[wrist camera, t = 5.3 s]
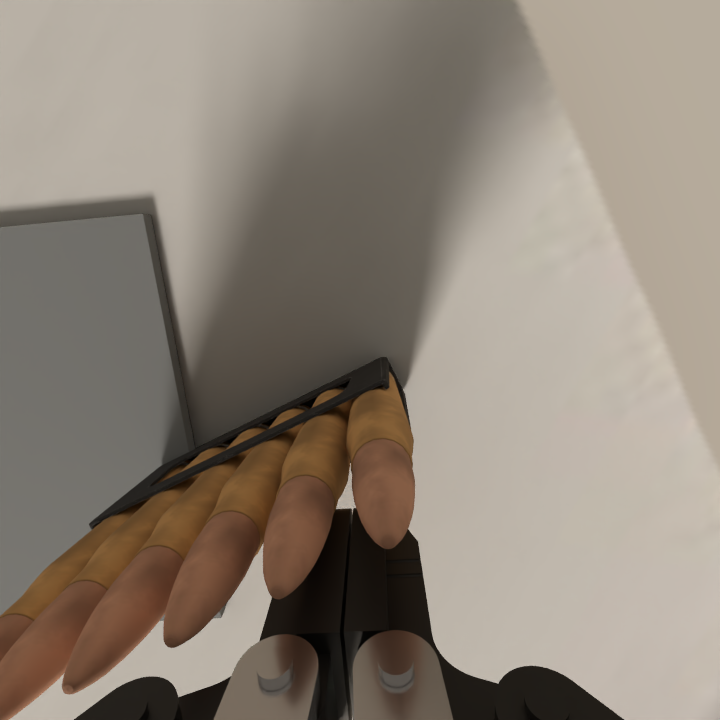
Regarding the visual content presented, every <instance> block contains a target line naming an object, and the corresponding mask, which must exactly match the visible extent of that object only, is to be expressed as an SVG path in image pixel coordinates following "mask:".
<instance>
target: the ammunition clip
mask: <svg viewBox="0 0 720 720" xmlns="http://www.w3.org/2000/svg"><path fill="white" fill-rule="evenodd" d="M413 442H414V440H413V435H412V432H411V427H410V421H409V415H408V409H407V403H406V398H405V393H404V391H403V389H402V387H401V385H400V383H399V381H398V379H397V377H396V375H395V373H394V371H393V369H392V367H391V365H390V363H389V361H388V359H387V358H386V357H381V358H379V359H377V360H375V361H373V362H371V363H369V364H367V365H365V366H363V367H361V368H359V369H357V370H354V371H352V372H350V373H348V374H346V375H344V376H342V377H340V378H338V379H336V380H334V381H332V382H330V383H328V384H326V385H324V386H322V387H320V388H318V389H316V390H314V391H312V392H310V393H308V394H306V395H304V396H302V397H300V398H298V399H296V400H294V401H291V402H289V403H287V404H285V405H283V406H281V407H279V408H277V409H275V410H273V411H271V412H269V413H267V414H265V415H263V416H261V417H259V418H257V419H255V420H253V421H251V422H249V423H247V424H245V425H243V426H241V427H239V428H237V429H235V430H233V431H231V432H229V433H226V434H224V435H222V436H220V437H218V438H216V439H214V440H212V441H210V442H208V443H206V444H204V445H202V446H200V447H198V448H196V449H194V450H192V451H190V452H188V453H186V454H184V455H182V456H180V457H178V458H176V459H174V460H172V461H170V462H168V463H166V464H163V465H161V466H160V467H159V468H157V469H156V470H155V471H154V472H152V473H151V474H150V475H149V476H147V477H146V478H145V479H144V480H142V481H141V482H140V483H139V484H137V485H136V486H135V487H134V488H132V489H131V490H130V491H129V492H127V493H126V494H125V495H124V496H122V497H121V498H120V499H119V500H117V501H116V502H115V503H114V504H112V505H111V506H110V507H109V508H107V509H106V510H105V511H104V512H102V513H101V514H100V515H99V516H97V517H96V518H95V519H94V520H92V521H91V522H90V523H89V526H90V528H91V531H90V532H89V533H88V534H86V535H85V536H84V537H83V538H82V539H80V540H79V541H78V542H77V543H75V544H74V545H73V546H72V547H71V548H69V549H68V550H67V551H66V552H65V553H63V554H62V555H61V556H60V557H59V558H57V559H56V560H55V561H54V562H52V563H51V564H50V565H49V566H48V567H47V568H46V569H45V570H44V571H43V572H42V573H41V574H40V575H39V576H38V577H37V578H36V580H35V581H34V582H33V583H32V584H31V585H30V587H29V588H28V589H27V590H26V592H25V593H24V594H23V595H22V596H21V597H20V598H19V599H18V600H17V601H16V602H15V603H14V604H13V605H12V606H11V607H9V608H8V609H7V610H6V611H5V612H4V613H3V614H2V615H1V616H0V720H9V719H10V718H12V717H13V716H14V715H16V714H17V713H18V712H20V711H21V710H22V709H23V708H25V707H26V706H27V705H29V704H30V703H31V702H32V701H34V700H35V699H36V698H37V697H39V696H40V695H41V694H42V693H43V692H44V691H46V690H47V689H48V688H49V687H50V686H51V685H52V684H53V683H55V682H56V681H57V680H58V679H59V678H60V677H61V676H62V675H63V674H64V673H65V674H64V678H63V683H62V689H63V692H64V693H66V694H74V693H76V692H78V691H80V690H82V689H84V688H86V687H87V686H89V685H91V684H93V683H94V682H96V681H97V680H98V679H100V678H101V677H103V676H104V675H106V674H107V673H108V672H109V671H110V670H111V669H112V668H114V667H115V666H116V665H117V664H118V663H119V662H121V661H122V660H123V659H124V658H125V657H126V656H127V655H128V654H129V653H130V652H131V651H132V650H133V649H134V648H135V647H136V646H137V645H138V644H139V643H140V642H141V641H142V640H143V639H144V638H145V637H146V636H147V635H148V633H149V632H150V631H151V630H152V629H153V628H154V626H155V625H156V624H157V623H158V622H159V621H160V619H161V618H162V617H163V616H164V615H165V618H164V635H163V636H164V642H165V644H166V645H167V646H168V647H171V648H174V647H177V646H179V645H181V644H183V643H185V642H186V641H188V640H189V639H191V638H192V637H194V636H195V635H196V634H197V633H199V632H200V631H201V630H202V629H203V628H204V627H205V626H206V625H207V624H208V623H209V622H210V621H211V620H212V618H213V617H214V616H215V615H216V614H217V613H218V612H219V611H220V610H221V609H222V608H223V606H224V605H225V604H226V603H227V602H228V600H229V599H230V598H231V596H232V595H233V594H234V592H235V590H236V589H237V587H238V586H239V584H240V583H241V581H242V580H243V578H244V577H245V575H246V573H247V571H248V569H249V567H250V565H251V563H252V561H253V558H254V557H255V556H256V555H257V554H258V552H259V550H260V548H261V546H262V544H263V542H264V547H263V573H264V579H265V582H266V585H267V588H268V591H269V593H270V595H271V596H272V597H273V598H274V599H282V598H284V597H286V596H288V595H289V594H290V593H292V592H293V591H294V590H295V589H296V588H297V587H298V586H299V585H300V584H301V583H302V582H303V581H304V579H305V578H306V577H307V575H308V574H309V572H310V571H311V570H312V568H313V566H314V565H315V563H316V561H317V559H318V557H319V555H320V553H321V551H322V549H323V546H324V544H325V541H326V539H327V536H328V533H329V531H330V527H331V523H332V518H333V514H334V512H335V510H336V506H337V502H338V499H339V498H340V496H341V495H342V493H343V491H344V489H345V486H346V484H347V481H348V475H349V468H350V463H351V471H352V491H353V496H354V502H355V505H356V508H357V511H358V514H359V517H360V520H361V522H362V524H363V526H364V528H365V530H366V532H367V533H368V534H369V536H370V537H371V538H372V539H373V540H374V542H375V543H377V544H378V545H379V546H381V547H382V548H385V549H391V548H394V547H395V546H396V545H397V544H398V543H399V542H400V541H401V540H402V539H403V537H404V536H405V534H406V532H407V529H408V527H409V524H410V521H411V518H412V514H413V509H414V499H415V479H414V474H413V470H412V466H413V463H412V453H413Z"/></svg>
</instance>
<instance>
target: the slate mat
mask: <svg viewBox="0 0 720 720" xmlns="http://www.w3.org/2000/svg"><path fill="white" fill-rule="evenodd" d="M194 449H195V445H194V439H193V434H192V429H191V424H190V418H189V413H188V408H187V402H186V397H185V392H184V387H183V381H182V376H181V371H180V366H179V360H178V355H177V350H176V345H175V339H174V334H173V329H172V324H171V318H170V313H169V308H168V302H167V297H166V292H165V287H164V281H163V276H162V271H161V266H160V260H159V255H158V250H157V245H156V239H155V234H154V229H153V224H152V218H151V215H149V214H133V215H122V216H112V217H101V218H91V219H80V220H70V221H59V222H48V223H38V224H27V225H17V226H6V227H0V616H1V615H2V614H3V613H4V612H5V611H6V610H7V609H8V608H9V607H11V606H12V605H13V604H14V603H15V602H16V601H17V600H18V599H19V598H20V597H21V596H22V595H23V594H24V593H25V592H26V590H27V589H28V588H29V587H30V585H31V584H32V583H33V582H34V581H35V580H36V578H37V577H38V576H39V575H40V574H41V573H42V572H43V571H44V570H45V569H46V568H47V567H48V566H49V565H50V564H51V563H52V562H54V561H55V560H56V559H57V558H59V557H60V556H61V555H62V554H63V553H65V552H66V551H67V550H68V549H69V548H71V547H72V546H73V545H74V544H75V543H77V542H78V541H79V540H80V539H82V538H83V537H84V536H85V535H86V534H88V533H89V532H90V531H91V528H90V526H89V523H90V522H91V521H92V520H94V519H95V518H96V517H97V516H99V515H100V514H101V513H102V512H104V511H105V510H106V509H107V508H109V507H110V506H111V505H112V504H114V503H115V502H116V501H117V500H119V499H120V498H121V497H122V496H124V495H125V494H126V493H127V492H129V491H130V490H131V489H132V488H134V487H135V486H136V485H137V484H139V483H140V482H141V481H142V480H144V479H145V478H146V477H147V476H149V475H150V474H151V473H152V472H154V471H155V470H156V469H157V468H159V467H160V466H161V465H163V464H166V463H168V462H170V461H172V460H174V459H176V458H178V457H180V456H182V455H184V454H186V453H188V452H190V451H192V450H194ZM224 610H225V605H224V606H223V608H222V609H221V610H220V611H219V612H218V613H217V614H216V615H215V616H214V617H213V618H221V617H222V615H223V613H224ZM164 618H165V615H164V616H163V617H162V618H161V619H160V621H164Z"/></svg>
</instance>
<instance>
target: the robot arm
mask: <svg viewBox="0 0 720 720" xmlns="http://www.w3.org/2000/svg"><path fill="white" fill-rule="evenodd" d="M352 717H353V720H624V719H622V718H621V717H620V716H618V715H617V714H616V713H614V712H613V711H612V710H610V709H609V708H608V707H606V706H605V705H604V704H602V703H601V702H600V701H598V700H597V699H596V698H594V697H593V696H592V695H590V694H589V693H588V692H586V691H585V690H584V689H582V688H581V687H580V686H578V685H577V684H576V683H574V682H573V681H572V680H570V679H569V678H567V677H566V676H564V675H562V674H560V673H558V672H556V671H553V670H551V669H548V668H543V667H539V666H524V667H519V668H516V669H514V670H512V671H510V672H508V673H507V674H506V675H505V676H504V677H503V678H502V679H501V680H500V682H499V684H497V683H493V682H490V681H486V680H483V679H480V678H476V677H473V676H470V675H467V674H465V673H463V672H461V671H459V670H458V669H456V668H455V667H453V666H452V665H451V664H450V663H449V662H447V661H446V660H445V659H444V657H443V656H442V655H441V654H440V652H439V651H438V649H437V648H436V645H435V643H434V641H433V637H432V631H431V625H430V618H429V612H428V605H427V599H426V592H425V585H424V579H423V572H422V566H421V560H420V553H419V546H418V541H417V540H416V539H415V537H414V536H413V535H412V534H411V532H410V531H409V530H408V529H407V532H406V534H405V536H404V537H403V539H402V540H401V541H400V542H399V543H398V544H397V545H396V546H395V547H394V548H391V549H385V548H382V547H381V546H379V545H378V544H377V543H375V542H374V540H373V539H372V538H371V537H370V536H369V534H368V533H367V532H366V530H365V528H364V526H363V524H362V522H361V520H360V517H359V514H358V511H357V508H354V509H353V514H352V509H336V510H335V512H334V514H333V518H332V523H331V527H330V531H329V533H328V536H327V539H326V541H325V544H324V546H323V549H322V551H321V553H320V555H319V557H318V559H317V561H316V563H315V565H314V566H313V568H312V570H311V571H310V572H309V574H308V575H307V577H306V578H305V579H304V581H303V582H302V583H301V584H300V585H299V586H298V587H297V588H296V589H295V590H294V591H293V592H292V593H290V594H289V595H288V596H286V597H284V598H282V599H274V598H273V597H272V600H271V603H270V607H269V610H268V614H267V617H266V620H265V624H264V627H263V631H262V634H261V638H260V641H259V642H258V643H256V644H255V645H253V646H252V647H251V648H250V649H248V650H247V651H246V652H245V653H244V655H243V656H242V657H241V658H240V660H239V661H238V663H237V665H236V667H235V669H234V671H233V673H232V676H231V677H229V678H228V679H226V680H224V681H222V682H220V683H218V684H215V685H213V686H210V687H207V688H204V689H201V690H198V691H196V692H193V693H190V694H187V695H184V696H181V697H178V695H177V692H176V689H175V687H174V686H173V684H172V683H170V682H169V681H168V680H166V679H164V678H160V677H143V678H139V679H136V680H133V681H130V682H128V683H125V684H124V685H122V686H120V687H118V688H116V689H115V690H113V691H112V692H110V693H109V694H108V695H106V696H105V697H104V698H102V699H101V700H100V701H98V702H97V703H96V704H94V705H93V706H92V707H90V708H89V709H88V710H86V711H85V712H84V713H82V714H81V715H80V716H78V717H77V718H76V719H74V720H352Z"/></svg>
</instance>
